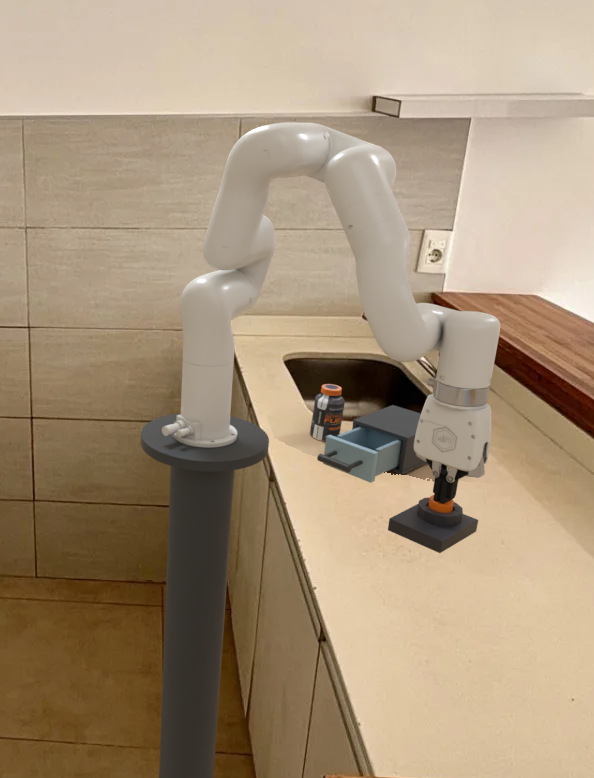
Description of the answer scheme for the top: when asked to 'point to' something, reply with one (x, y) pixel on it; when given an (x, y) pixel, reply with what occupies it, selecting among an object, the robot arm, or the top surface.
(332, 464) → the blue drawer
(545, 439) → the top surface
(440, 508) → the button
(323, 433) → the pill bottle
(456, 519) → the control block
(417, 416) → the drawer cabinet
